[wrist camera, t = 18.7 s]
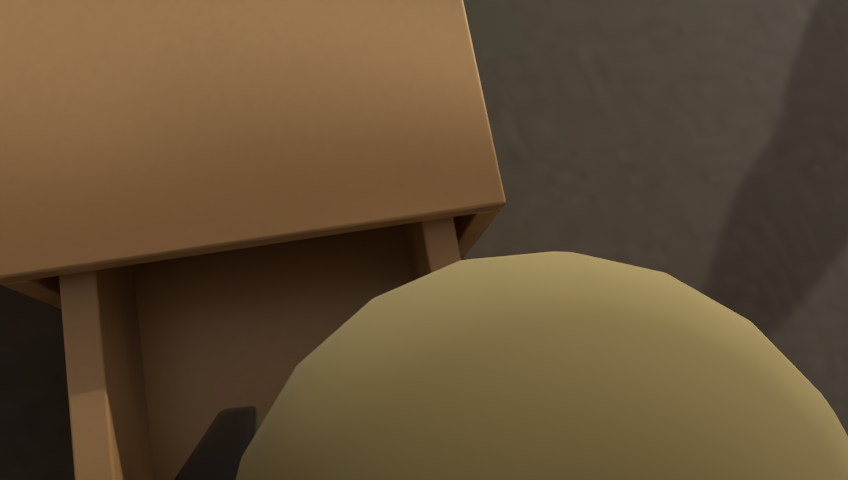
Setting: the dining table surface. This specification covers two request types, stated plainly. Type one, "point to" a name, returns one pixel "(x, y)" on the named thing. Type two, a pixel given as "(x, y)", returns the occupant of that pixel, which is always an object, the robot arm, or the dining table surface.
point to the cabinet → (231, 128)
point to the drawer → (215, 336)
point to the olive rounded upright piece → (547, 385)
